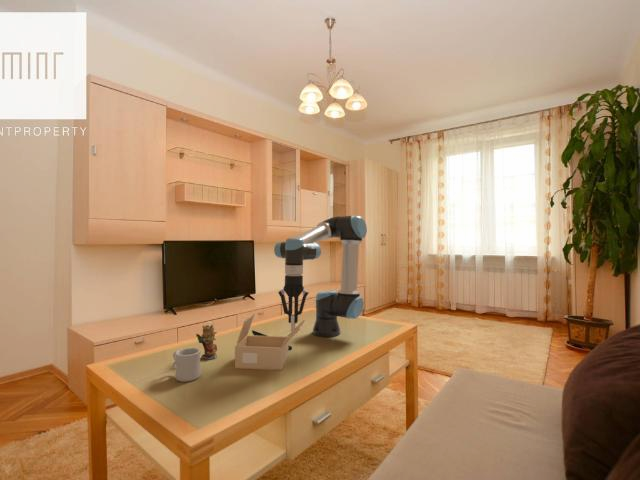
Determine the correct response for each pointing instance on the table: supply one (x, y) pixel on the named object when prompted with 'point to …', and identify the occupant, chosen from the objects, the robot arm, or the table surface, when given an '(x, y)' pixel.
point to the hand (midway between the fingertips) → (292, 330)
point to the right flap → (293, 333)
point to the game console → (266, 335)
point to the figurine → (208, 342)
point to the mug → (187, 364)
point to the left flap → (245, 328)
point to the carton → (261, 353)
